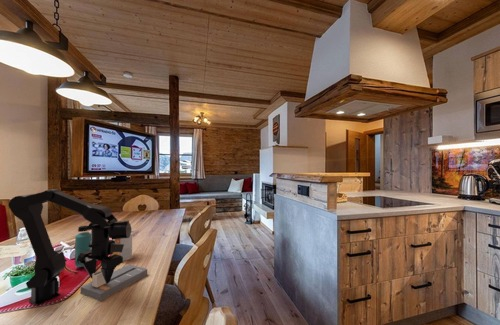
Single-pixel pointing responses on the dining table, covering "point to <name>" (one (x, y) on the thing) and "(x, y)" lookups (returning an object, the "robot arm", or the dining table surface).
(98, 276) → the fader knob
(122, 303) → the dining table surface
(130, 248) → the small box
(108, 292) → the console
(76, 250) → the beverage bottle
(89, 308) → the dining table surface
